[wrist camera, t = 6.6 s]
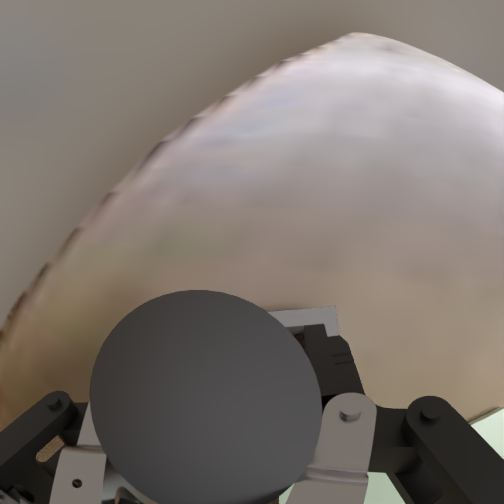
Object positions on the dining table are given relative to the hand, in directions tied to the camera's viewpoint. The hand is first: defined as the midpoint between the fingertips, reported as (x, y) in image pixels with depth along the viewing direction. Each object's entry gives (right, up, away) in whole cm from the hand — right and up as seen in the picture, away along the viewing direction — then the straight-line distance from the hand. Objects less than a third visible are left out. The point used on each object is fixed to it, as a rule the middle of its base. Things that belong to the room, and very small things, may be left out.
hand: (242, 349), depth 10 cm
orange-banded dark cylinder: (+1, -4, +3) cm, 5 cm away
